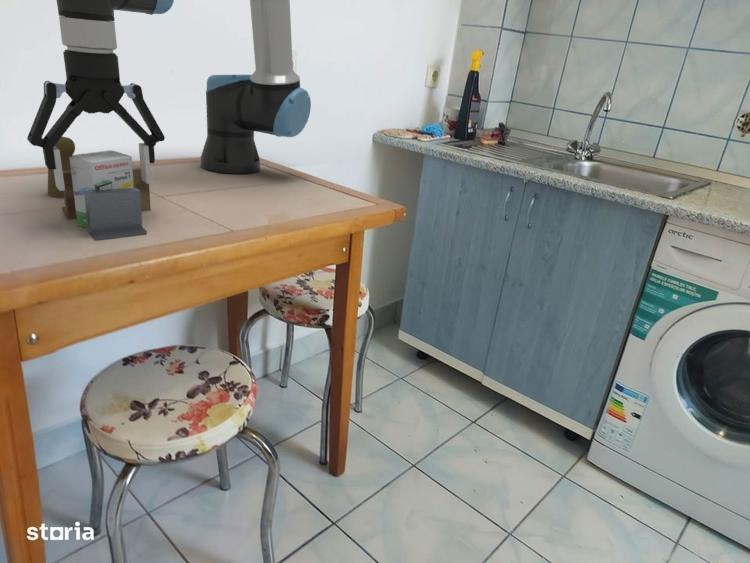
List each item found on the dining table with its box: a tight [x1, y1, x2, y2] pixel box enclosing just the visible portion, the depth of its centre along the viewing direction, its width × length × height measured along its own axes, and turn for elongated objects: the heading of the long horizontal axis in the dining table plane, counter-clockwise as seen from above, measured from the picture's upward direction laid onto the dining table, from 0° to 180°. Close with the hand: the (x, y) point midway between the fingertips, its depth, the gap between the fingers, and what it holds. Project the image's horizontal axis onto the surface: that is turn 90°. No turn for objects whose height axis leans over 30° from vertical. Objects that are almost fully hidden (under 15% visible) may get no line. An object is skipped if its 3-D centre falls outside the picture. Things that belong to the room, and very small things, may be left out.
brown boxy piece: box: [61, 166, 152, 219], centre depth 98 cm, size 14×4×8 cm, turn 130°
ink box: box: [69, 150, 134, 229], centre depth 92 cm, size 8×5×12 cm, turn 155°
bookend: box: [84, 188, 148, 241], centre depth 88 cm, size 8×4×7 cm, turn 130°
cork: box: [47, 136, 76, 199], centre depth 104 cm, size 6×6×11 cm
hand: (105, 185), depth 92 cm, fingers open, 13 cm apart
